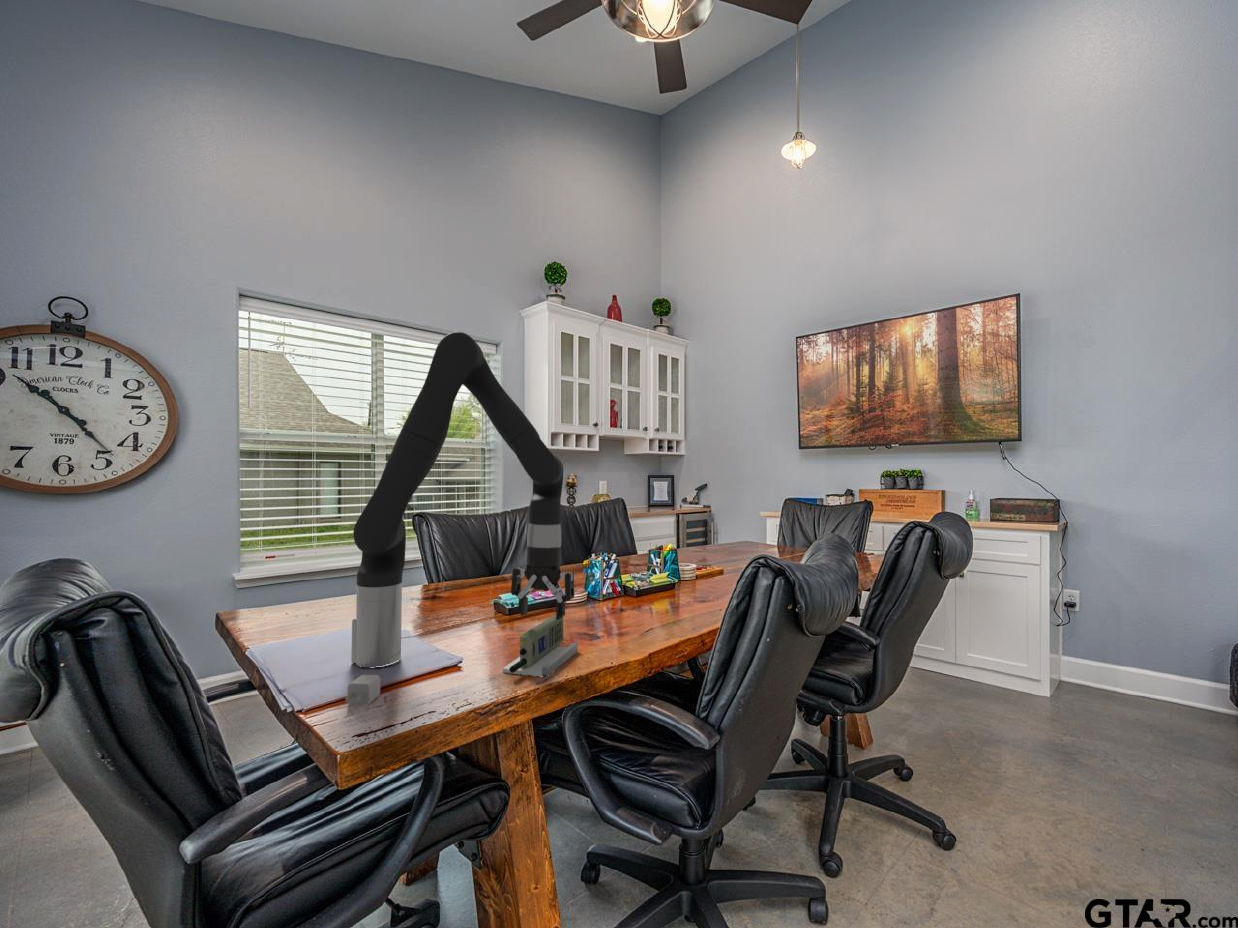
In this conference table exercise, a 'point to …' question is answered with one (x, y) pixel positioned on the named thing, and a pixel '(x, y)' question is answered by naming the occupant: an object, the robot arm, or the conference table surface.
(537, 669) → the charging dock
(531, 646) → the handheld radio
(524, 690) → the conference table surface
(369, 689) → the usb wall charger
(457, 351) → the robot arm
